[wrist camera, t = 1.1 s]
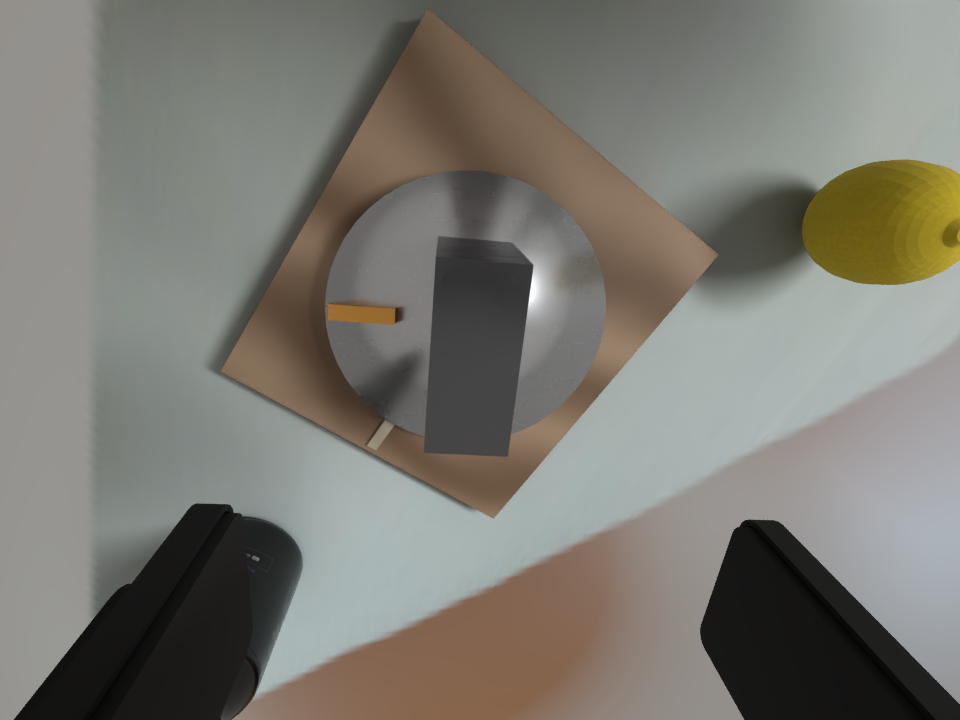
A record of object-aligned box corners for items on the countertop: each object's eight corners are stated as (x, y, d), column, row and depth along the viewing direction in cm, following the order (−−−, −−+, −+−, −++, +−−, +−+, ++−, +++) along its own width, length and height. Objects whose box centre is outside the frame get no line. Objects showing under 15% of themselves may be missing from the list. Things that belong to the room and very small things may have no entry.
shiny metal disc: (624, 186, 23) (694, 190, 17) (576, 439, 28) (615, 519, 22) (327, 155, 22) (276, 147, 15) (331, 426, 27) (294, 508, 20)
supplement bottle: (257, 495, 30) (146, 685, 19) (326, 564, 32) (263, 769, 21) (174, 545, 31) (22, 753, 20) (247, 609, 33) (147, 826, 22)
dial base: (429, 18, 22) (427, 6, 20) (704, 250, 26) (720, 255, 25) (232, 361, 27) (218, 372, 25) (491, 503, 32) (493, 520, 30)
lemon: (771, 279, 27) (894, 319, 20) (766, 178, 25) (900, 181, 18) (867, 252, 27) (1028, 281, 20) (871, 148, 25) (1051, 137, 18)
